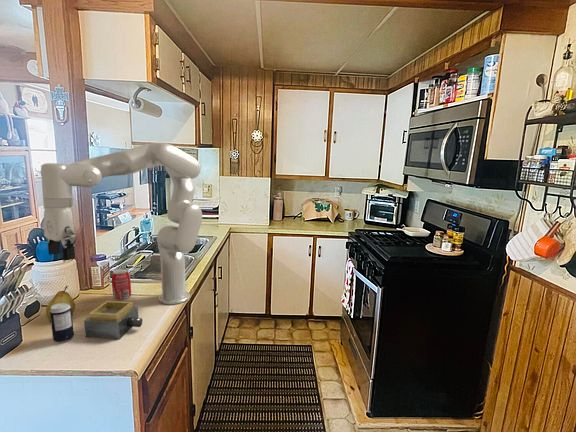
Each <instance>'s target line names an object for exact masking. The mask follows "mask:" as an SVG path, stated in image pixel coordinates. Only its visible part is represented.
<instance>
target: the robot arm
mask: <svg viewBox="0 0 576 432" xmlns="http://www.w3.org/2000/svg"><path fill="white" fill-rule="evenodd" d="M157 166H161V167H165V170H166V172H167V174H168V176H169V177H170V179H171V180H172V185H173V188H172V194H171V197H170V201H169V203H168V204H169V205H168V208H167V212H166V213H167V218H168V220H169V221H171V222H172V223H175V224H178V226H174V225H165V226H163V227H162V228H160V230H158V232H157V235H156V241H157V242H156V243H157V247H158V249H159V250H158V251H159V257H160V258H159V259H160V277H161V294H160V295H159V296H158V301H159V302H160V303H161V304H163V305H177V304H182V303H184V302H186V301H188V300H189V298H190V297H191V296H190V292H189V291H188V290H187V288H186V287H187V285H188V282H187V281H186V263H185V262H186V261H185V259H186V257H185V254H188V253H189V252H191V251H192V250H193V249H194V247H195V245H196V244H197V240H198V237H199V233H200V229H201V225H202V221H203V212H202V209H201V207H200V206H199V205H198V204H196V203H193V201H194V197H195V192H196V191H195V183H194V180H193V179H196V178H198V177H199V176H200V173H201V165H200V162H199V161H198V160H197V159H196V158H194V156H192V155H190V154H188V153H187V152H185V151H183V150H181V149H180V148H179V147H176V146H174V145H172V144H170V143H167V142H152V143H146V144H143V145H139V146H136V147H132V148H128V149H123V150H120V151H116V152H112V153H108V154H105V155H103V154H102V155H100V156H95V157H90V158H86V159H83V160H80V161H79V160H78V161H75V162H72V163H70V164H67V163H55V162H53V163H52V162H51V163H50V162H49V163H48V162H47V163H43V164H42V165H40V173H41V174H40V177H41V191H42V204H43V209H44V212H43V235H44V238H46V241H47V250H48V251H47V252H48V255H50V256H51V255H58V254H61V252H62V260H63V261H70V260H71V261H72V260H75V258H76V250H75V249H76V248H75V247H76V236H77V235H76V234H75V225H74V217H73V212H72V211H73V210H72V209H73V208H74V201H73V187H77V188H78V187H79V188H92V187H96V186H97V185H99V184H100V182H101V181H102V178H107V177H115V176H129V175H133V174H136V173H138V172H139V173H140V172H141V171H144V170H147V169H151V168H155V167H157ZM61 244H62V246H63V247H62V248H61ZM61 250H62V251H61Z"/></svg>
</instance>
